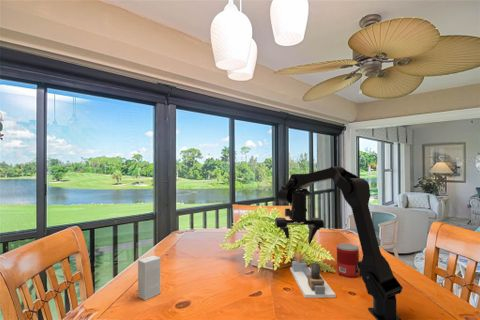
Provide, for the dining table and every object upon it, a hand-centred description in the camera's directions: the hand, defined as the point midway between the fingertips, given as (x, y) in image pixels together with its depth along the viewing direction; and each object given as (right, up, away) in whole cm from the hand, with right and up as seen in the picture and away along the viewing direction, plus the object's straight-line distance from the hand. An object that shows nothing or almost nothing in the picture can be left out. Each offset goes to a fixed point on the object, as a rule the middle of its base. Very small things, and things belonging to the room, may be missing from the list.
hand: (298, 244), depth 105 cm
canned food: (+19, -12, -1) cm, 23 cm away
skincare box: (-54, -11, -19) cm, 58 cm away
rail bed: (+2, -11, -9) cm, 14 cm away
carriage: (+2, -10, -15) cm, 18 cm away
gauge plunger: (0, -6, 0) cm, 6 cm away
